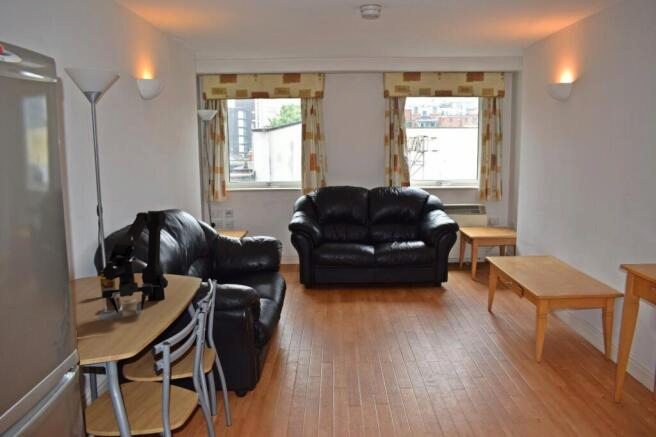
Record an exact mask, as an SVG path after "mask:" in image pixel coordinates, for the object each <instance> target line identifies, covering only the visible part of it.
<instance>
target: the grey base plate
mask: <svg viewBox="0 0 656 437" xmlns="http://www.w3.org/2000/svg"><path fill="white" fill-rule="evenodd" d="M136 304H137V314H136V315H131V316H123V311H122V304H121V308H120V310H118V313H117V312H116V310H112V311H107V306H102V307H101V310H100V313H99V315H98V317H97V319H96V321H98V322H99V321H105V320H106V321H107V320H114V319H115V320H116V319H121V318H129V317H139V316H141V312H142V310H141V302H136Z"/></svg>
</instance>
